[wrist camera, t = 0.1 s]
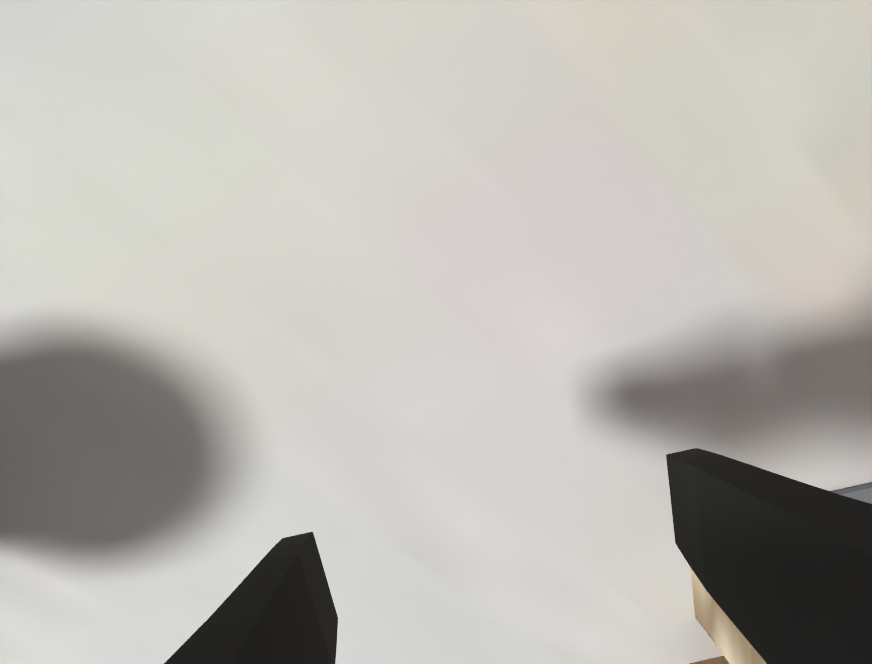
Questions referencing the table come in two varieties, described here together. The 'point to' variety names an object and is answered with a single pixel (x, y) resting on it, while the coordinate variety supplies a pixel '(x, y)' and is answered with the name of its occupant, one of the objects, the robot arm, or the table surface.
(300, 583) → the robot arm
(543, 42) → the table surface
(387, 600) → the table surface
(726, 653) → the beech block
